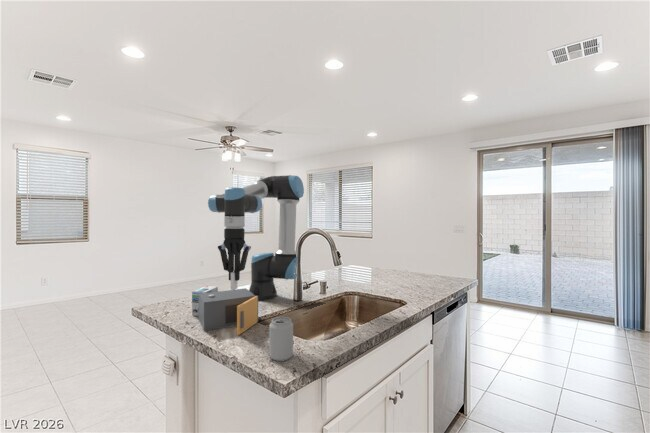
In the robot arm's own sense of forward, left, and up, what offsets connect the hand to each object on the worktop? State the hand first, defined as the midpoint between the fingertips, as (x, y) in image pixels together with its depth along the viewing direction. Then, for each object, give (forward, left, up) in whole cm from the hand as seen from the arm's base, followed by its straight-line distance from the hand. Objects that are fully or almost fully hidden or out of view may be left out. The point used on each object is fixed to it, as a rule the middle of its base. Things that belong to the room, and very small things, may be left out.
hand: (234, 288), depth 122 cm
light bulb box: (+6, -27, -16) cm, 32 cm away
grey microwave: (0, -11, -16) cm, 19 cm away
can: (-8, +30, -16) cm, 35 cm away
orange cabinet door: (-5, +2, -15) cm, 16 cm away
